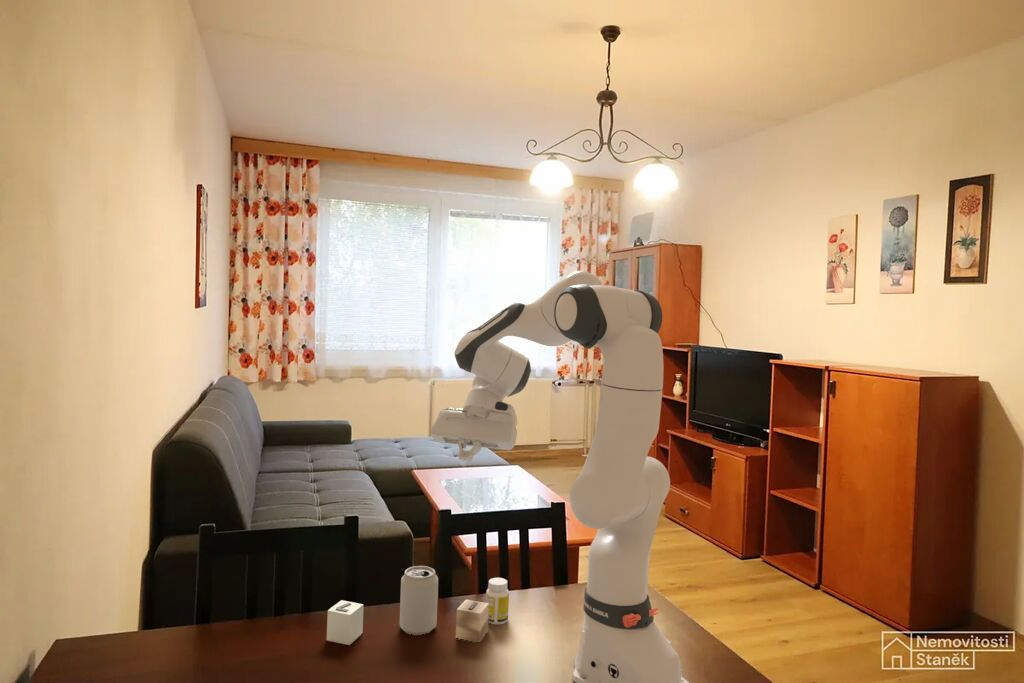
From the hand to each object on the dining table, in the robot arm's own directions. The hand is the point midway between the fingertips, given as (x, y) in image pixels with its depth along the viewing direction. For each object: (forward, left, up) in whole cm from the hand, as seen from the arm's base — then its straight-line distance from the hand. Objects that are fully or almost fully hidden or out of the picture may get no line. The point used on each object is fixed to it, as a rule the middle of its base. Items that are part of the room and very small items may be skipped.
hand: (464, 459), depth 154 cm
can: (-10, +15, -32) cm, 36 cm away
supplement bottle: (-15, -1, -32) cm, 35 cm away
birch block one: (-18, +7, -31) cm, 37 cm away
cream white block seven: (-6, +29, -31) cm, 43 cm away
